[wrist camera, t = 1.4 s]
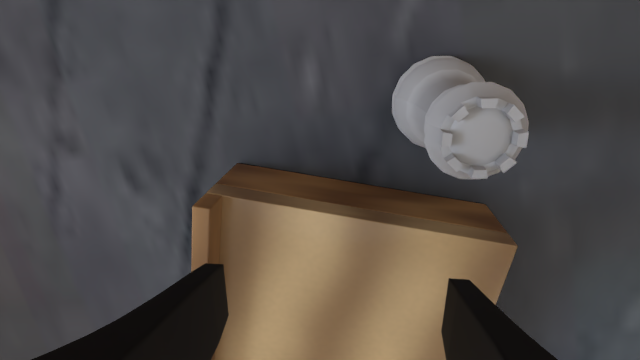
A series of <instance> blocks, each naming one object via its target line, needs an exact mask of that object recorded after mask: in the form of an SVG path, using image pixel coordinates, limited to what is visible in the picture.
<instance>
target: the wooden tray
mask: <svg viewBox="0 0 640 360" xmlns="http://www.w3.org/2000/svg"><path fill="white" fill-rule="evenodd" d="M517 247H518V246H517V244H516V243H515V242H514V241H513V239H512V238H511V237H510V235H509V234H508V233H507V232H506V230H505V229H504V228H503V226H502V225H501V224H500V222H499V221H498V220H497V219H496V217H495V216H494V215H493V213H492V212H491V211H490V209H489V208H488V207H487V206H486V205H485V204H480V203H474V202H468V201H462V200H456V199H450V198H444V197H438V196H432V195H426V194H420V193H414V192H408V191H402V190H396V189H390V188H384V187H378V186H372V185H366V184H360V183H354V182H348V181H342V180H336V179H330V178H324V177H318V176H312V175H306V174H300V173H294V172H288V171H282V170H276V169H270V168H264V167H258V166H252V165H246V164H240V163H237V164H236V165H235V166H234V167H233V168H232V169H231V170H230V171H229V172H228V173H226V174H225V175H224V176H223V177H222V178H221V179H220V180H219V181H218V182H217V183H216V184H215V185H214V186H213V187H212V188H211V189H210V190H208V191H207V193H206V194H205V195H204V196H203V197H202V198H200V199H199V200H198V201H197V202H196V203H195V204H194V205H193V207H192V264H191V272H192V271H194V270H195V269H197V268H198V267H200V266H202V265H203V264H205V263H211V264H223V265H224V275H225V284H226V294H227V303H228V313H229V316H228V319H227V322H226V325H225V328H224V331H223V333H222V336H221V339H220V342H219V344H218V346H217V348H216V351H215V353H214V355H213V357H212V359H211V360H446V356H445V351H444V345H443V339H442V333H441V329H442V322H443V315H444V308H445V301H446V294H447V288H448V281H449V278H451V279H467V280H470V281H471V282H472V283H473V284H474V285H476V286H477V287H478V288H479V289H480V290H481V291H482V292H483V293H484V294H485V295H486V296H487V297H488V298H489V299H490V300H491V301H492V302H493V303H494V304H495V305H496V302H497V300H498V297H499V295H500V292H501V289H502V287H503V284H504V281H505V279H506V276H507V274H508V271H509V268H510V266H511V263H512V260H513V258H514V255H515V252H516V250H517Z"/></svg>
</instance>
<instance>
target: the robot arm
mask: <svg viewBox="0 0 640 360" xmlns="http://www.w3.org/2000/svg"><path fill="white" fill-rule="evenodd" d="M228 316H229V313H228V303H227V294H226V284H225V275H224V265H223V264H211V263H205V264H203V265H202V266H200V267H198V268H197V269H195V270H194V271H192V272H191V273H189V274H188V275H186V276H185V277H184V278H182V279H181V280H179V281H178V282H176V283H175V284H173V285H172V286H170V287H169V288H167V289H166V290H164V291H163V292H161V293H160V294H158V295H157V296H155V297H154V298H152V299H150V300H149V301H147V302H146V303H144V304H142V305H141V306H139V307H137V308H136V309H134V310H133V311H131V312H129V313H128V314H126V315H124V316H123V317H121V318H119V319H117V320H116V321H114V322H112V323H110V324H108V325H106V326H104V327H102V328H100V329H98V330H97V331H95V332H93V333H91V334H89V335H87V336H85V337H83V338H80V339H78V340H76V341H74V342H71V343H69V344H67V345H65V346H62V347H60V348H58V349H56V350H53V351H51V352H49V353H47V354H44V355H42V356H39V357H37V358H34V359H31V360H211V359H212V357H213V355H214V353H215V351H216V348H217V346H218V344H219V342H220V339H221V336H222V333H223V331H224V328H225V325H226V322H227V319H228ZM441 333H442V339H443V345H444V351H445V356H446V360H558V359H556V358H555V357H554V356H553V355H551V354H550V353H549V352H547V351H546V350H545V349H544V348H543V347H541V346H540V345H539V344H538V343H537V342H536V341H534V340H533V339H532V338H531V337H530V336H528V335H527V334H526V333H525V332H524V331H523V330H522V329H520V328H519V327H518V326H517V325H516V324H515V323H514V322H513V321H512V320H511V319H510V318H508V317H507V316H506V315H505V314H504V313H503V312H502V311H501V310H500V309H499V308H498V307H497V306H496V305H495V304H494V303H493V302H492V301H491V300H490V299H489V298H488V297H487V296H486V295H485V294H484V293H483V292H482V291H481V290H480V289H479V288H478V287H477V286H476V285H474V284H473V283H472V282H471V281H470V280H467V279H451V278H449V281H448V288H447V294H446V301H445V308H444V315H443V322H442V329H441Z"/></svg>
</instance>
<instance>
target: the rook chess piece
mask: <svg viewBox="0 0 640 360" xmlns="http://www.w3.org/2000/svg"><path fill="white" fill-rule="evenodd" d="M392 114H393V116H394V119H395V122H396V124H397V127H398V129H399V130H400V131H401V132H402V133H403V134H404V135H405V136H406V137H407V138H408V139H409V140H410V141H411V142H412V143H414V144H416V145H419V146H421V147H424V148H426V149H427V152H428V154H429V157H430V160H431V161H432V162H433V163H434V164H435V165H436V166H437V167H438V168H439V169H440V170H441V171H442V172H444V173H446V174H449V175H451V176H454V177H456V178H459V179H488V178H487V177H488V176H490V175H493V174H496V173H499V172H500V171H502V172H503V173H504V172H506V171H507V170H508V169H510V168H511V167H512V166H513V165H515V164H516V163H517V162H516V161H515V159H516V157H517V156H518V154H519V152H520V151H521V149H522V148H526V147H527V141H528V135H529V132H528V126H529V121H528V117H527V114H526V110H525V106H524V104H523V103H522V102H521V100H520V99H519V98H518V97H517V96H516V95H515V94H514V93H513V91H512V90H510V89H508V88H506V87H503V86H501V85H498V84H496V83H494V82H485V80H484V78H483V77H482V76H481V75H480V74H479V72H478V71H477V70H476V69H475V68H474V67H473V66H472V65H470V64H468V63H467V62H465V61H462V60H460V59H457V58H455V57H453V56H431V57H429V58H427V59H424V60H422V61H420V62H417V63H415V64H413V65H412V66H411V67H410V68H409V69H408V70H407V71H406V72H405V73H404V74H403V75H402V76H401V77H400V79H399V81H398V84H397V86H396V88H395V90H394V92H393V96H392Z"/></svg>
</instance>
